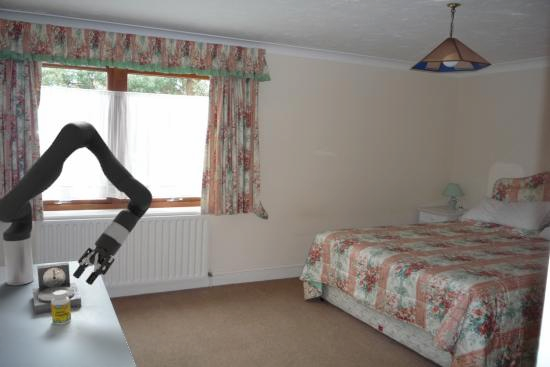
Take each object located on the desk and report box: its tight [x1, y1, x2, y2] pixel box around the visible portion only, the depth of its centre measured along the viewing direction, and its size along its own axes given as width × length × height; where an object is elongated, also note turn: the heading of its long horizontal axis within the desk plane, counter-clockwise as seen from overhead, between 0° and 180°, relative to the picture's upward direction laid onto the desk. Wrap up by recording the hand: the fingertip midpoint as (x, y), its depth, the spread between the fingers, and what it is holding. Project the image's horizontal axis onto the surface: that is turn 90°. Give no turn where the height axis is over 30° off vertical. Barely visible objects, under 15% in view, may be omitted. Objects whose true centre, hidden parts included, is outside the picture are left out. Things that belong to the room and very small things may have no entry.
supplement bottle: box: [51, 290, 72, 326], centre depth 147 cm, size 5×5×10 cm
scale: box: [32, 261, 82, 315], centre depth 163 cm, size 17×14×11 cm
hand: (81, 280), depth 152 cm, fingers open, 8 cm apart
